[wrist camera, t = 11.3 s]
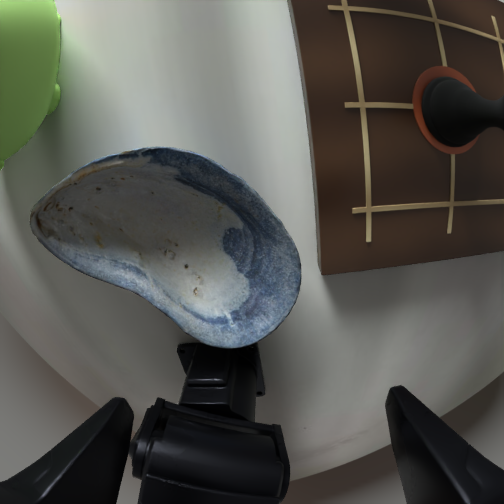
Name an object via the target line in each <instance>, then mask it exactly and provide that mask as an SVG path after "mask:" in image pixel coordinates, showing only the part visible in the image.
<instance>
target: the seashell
mask: <svg viewBox="0 0 504 504" xmlns="http://www.w3.org/2000/svg"><path fill="white" fill-rule="evenodd" d="M30 227H31V230H32V232H33V234H34V235H35V236H36V237H37V239H38V240H39V242H40V243H41V244H43V245H44V247H45V248H46V249H48V250H49V251H50V252H51V253H52V254H53V255H55V256H56V257H57V258H59V259H60V260H62V261H63V262H64V263H66V264H67V265H69V266H71V267H72V268H74V269H76V270H77V271H79V272H81V273H83V274H85V275H88V276H90V277H93V278H95V279H98V280H101V281H104V282H107V283H110V284H113V285H115V286H118V287H120V288H123V289H126V290H129V291H131V292H133V293H135V294H137V295H139V296H141V297H143V298H145V299H147V300H148V301H149V302H150V303H151V304H152V305H154V306H155V307H156V308H158V309H159V310H160V311H162V312H163V313H164V314H165V315H166V316H168V317H169V318H171V319H172V320H173V321H174V322H175V323H176V324H177V325H178V326H179V327H180V328H181V329H182V330H183V331H184V332H185V333H186V334H188V335H190V336H192V337H193V338H195V339H197V340H199V341H200V342H202V343H204V344H206V345H210V346H214V347H219V348H227V349H231V348H240V347H246V346H249V345H251V344H254V343H256V342H258V341H260V340H262V339H264V338H265V337H267V336H268V335H270V334H271V333H272V332H273V331H274V330H276V329H277V328H278V327H279V325H280V324H281V323H282V322H283V321H284V320H285V318H286V317H287V316H288V315H289V313H290V311H291V309H292V307H293V306H294V304H295V303H296V300H297V297H298V294H299V290H300V285H301V263H300V258H299V253H298V251H297V248H296V246H295V244H294V242H293V240H292V238H291V237H290V235H289V234H288V232H287V231H286V229H285V228H284V226H283V224H282V222H281V221H280V220H279V219H278V217H277V216H276V215H275V214H274V213H273V211H272V210H271V209H270V207H269V206H268V205H267V204H266V202H265V201H264V200H263V199H262V198H261V197H260V196H259V195H258V193H257V192H256V191H255V190H254V189H252V188H251V187H250V186H249V185H248V184H247V183H246V182H245V181H244V180H243V179H242V178H241V177H239V176H237V175H235V174H232V173H230V172H229V171H228V170H227V169H225V168H224V167H223V166H222V165H220V164H218V163H217V162H215V161H213V160H211V159H210V158H208V157H205V156H203V155H200V154H197V153H194V152H191V151H187V150H182V149H177V148H171V147H146V148H139V149H133V150H129V151H126V152H122V153H118V154H114V155H109V156H105V157H102V158H99V159H96V160H94V161H92V162H90V163H88V164H87V165H84V166H82V167H80V168H78V169H77V170H75V171H73V172H72V173H71V174H70V175H69V176H67V177H66V178H65V179H63V180H62V181H60V182H59V183H58V184H56V185H55V186H54V187H52V188H51V189H50V190H49V191H48V192H47V193H46V194H45V195H44V196H43V197H42V198H41V199H40V200H39V201H38V202H37V203H36V204H35V205H34V207H33V209H32V210H31V214H30Z"/></svg>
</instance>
